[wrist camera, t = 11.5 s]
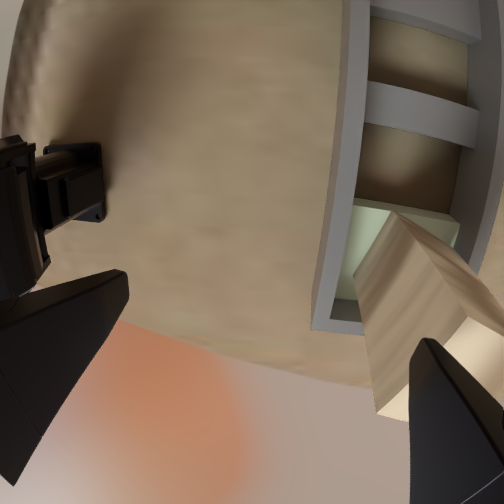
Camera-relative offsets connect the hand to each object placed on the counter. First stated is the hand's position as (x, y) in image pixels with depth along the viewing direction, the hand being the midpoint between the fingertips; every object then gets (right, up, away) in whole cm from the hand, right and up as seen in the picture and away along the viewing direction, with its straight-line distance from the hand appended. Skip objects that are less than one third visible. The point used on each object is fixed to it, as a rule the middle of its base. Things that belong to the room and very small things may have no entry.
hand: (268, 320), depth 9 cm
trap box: (+10, +10, +8) cm, 16 cm away
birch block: (+9, +1, +10) cm, 14 cm away
